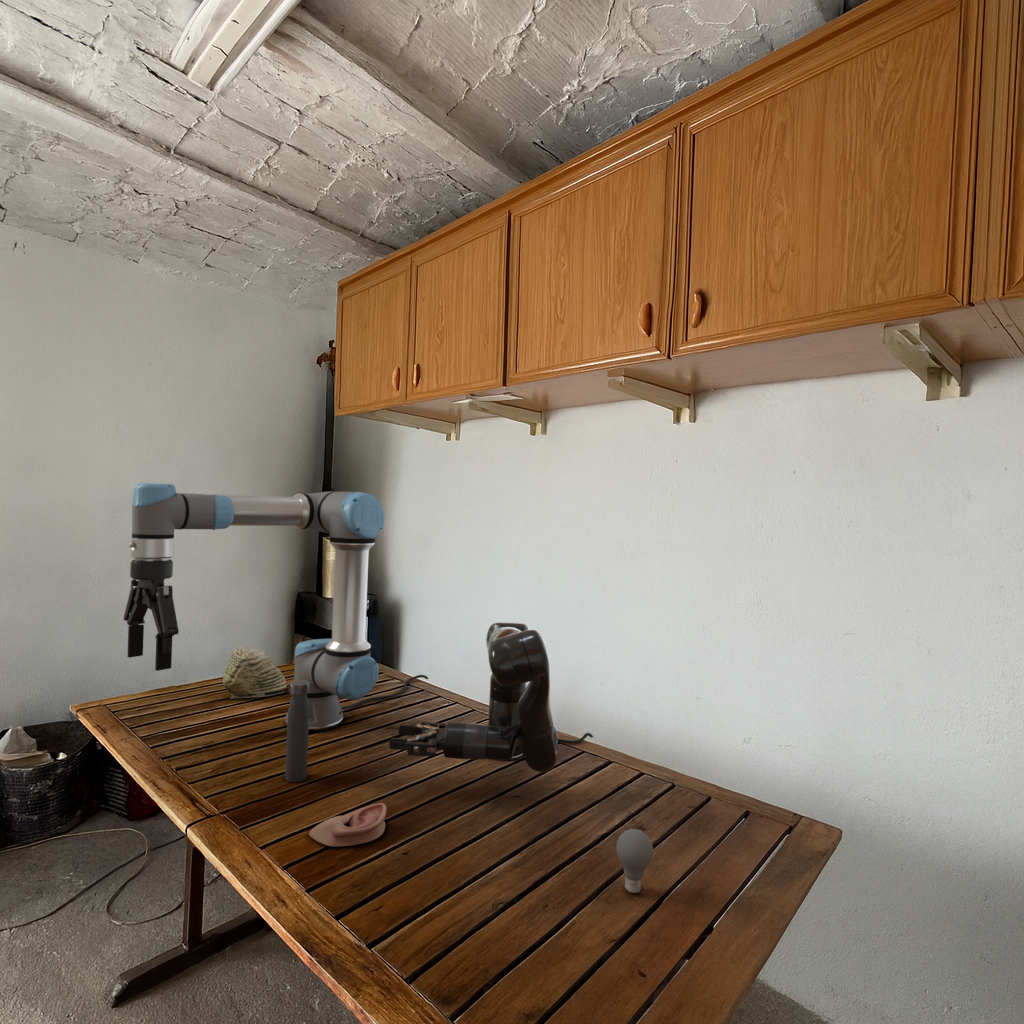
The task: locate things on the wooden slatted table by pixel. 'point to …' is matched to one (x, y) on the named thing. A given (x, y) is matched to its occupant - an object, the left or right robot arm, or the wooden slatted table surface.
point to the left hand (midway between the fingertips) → (148, 662)
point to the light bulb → (634, 857)
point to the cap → (299, 687)
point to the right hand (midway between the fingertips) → (394, 736)
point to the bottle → (297, 739)
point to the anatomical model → (352, 827)
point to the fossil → (252, 674)
